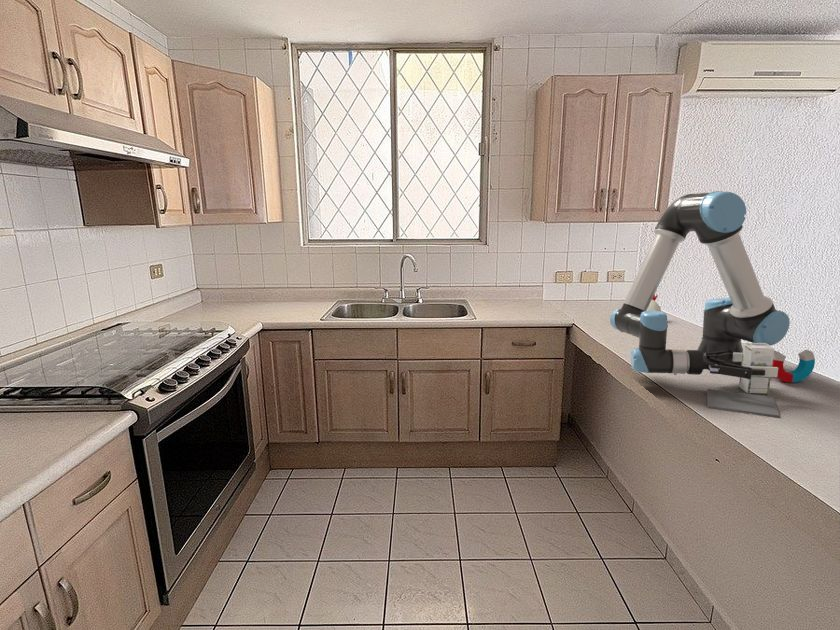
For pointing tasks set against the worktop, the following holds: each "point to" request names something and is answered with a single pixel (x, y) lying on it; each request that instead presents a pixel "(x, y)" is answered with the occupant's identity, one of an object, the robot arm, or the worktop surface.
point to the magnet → (800, 372)
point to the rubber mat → (742, 402)
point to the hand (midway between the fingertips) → (766, 364)
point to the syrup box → (756, 357)
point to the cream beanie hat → (654, 305)
